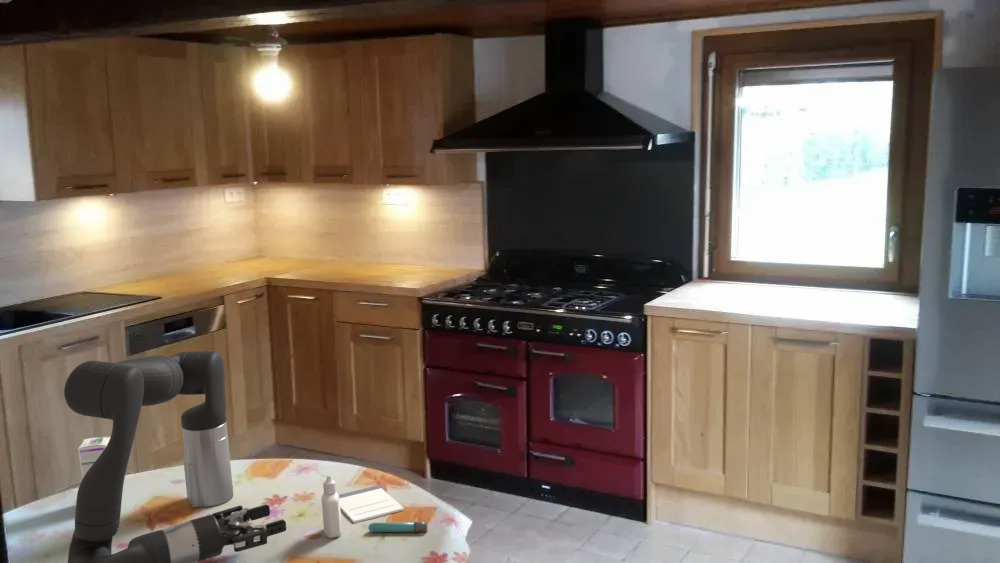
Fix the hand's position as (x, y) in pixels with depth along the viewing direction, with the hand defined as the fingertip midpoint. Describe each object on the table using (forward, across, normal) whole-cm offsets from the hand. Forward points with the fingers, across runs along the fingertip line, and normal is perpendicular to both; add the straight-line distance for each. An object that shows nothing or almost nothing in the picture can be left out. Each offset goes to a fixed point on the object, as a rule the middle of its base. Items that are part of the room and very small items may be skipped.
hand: (277, 517), depth 170 cm
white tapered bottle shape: (+11, 0, +7) cm, 13 cm away
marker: (+21, -8, +6) cm, 24 cm away
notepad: (+22, +8, +6) cm, 24 cm away
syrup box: (-23, +45, +7) cm, 51 cm away
